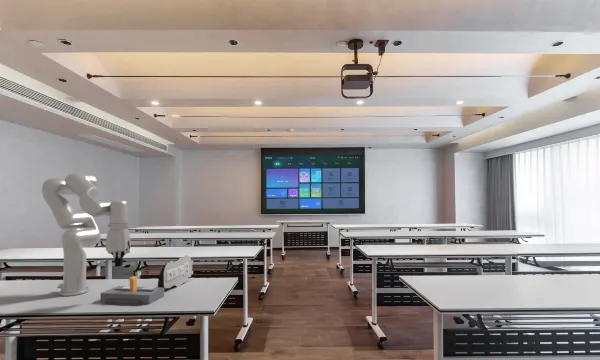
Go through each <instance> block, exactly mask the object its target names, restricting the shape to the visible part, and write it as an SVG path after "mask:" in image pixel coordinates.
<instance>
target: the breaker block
mask: <svg viewBox="0 0 600 360" xmlns="http://www.w3.org/2000/svg"><path fill="white" fill-rule="evenodd" d="M163 297H165V288H162V287H158V286H157V287H153V286H137V291H130V285H129V286H128V285H126V286H124V285H118V286H115V287H112V288H111V289H108V290H105V291H103V292H100V303H105V300H107V299H114V300H137V301H140V305H151V304H152V303H154V302H156V301H158V300H160V299H162V298H163Z"/></svg>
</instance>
